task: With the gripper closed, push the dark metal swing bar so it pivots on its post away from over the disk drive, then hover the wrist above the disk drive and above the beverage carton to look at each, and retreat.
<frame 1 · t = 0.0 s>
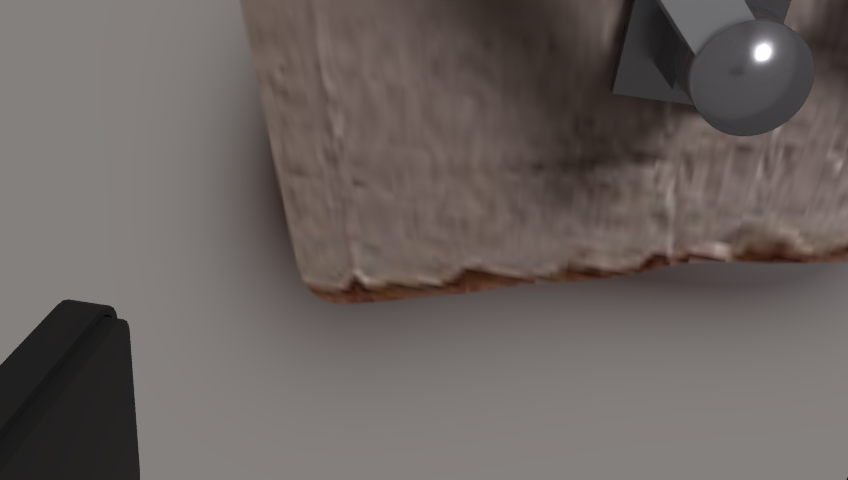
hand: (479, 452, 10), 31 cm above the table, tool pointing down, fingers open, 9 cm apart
pivot post: (699, 29, 37), on the table
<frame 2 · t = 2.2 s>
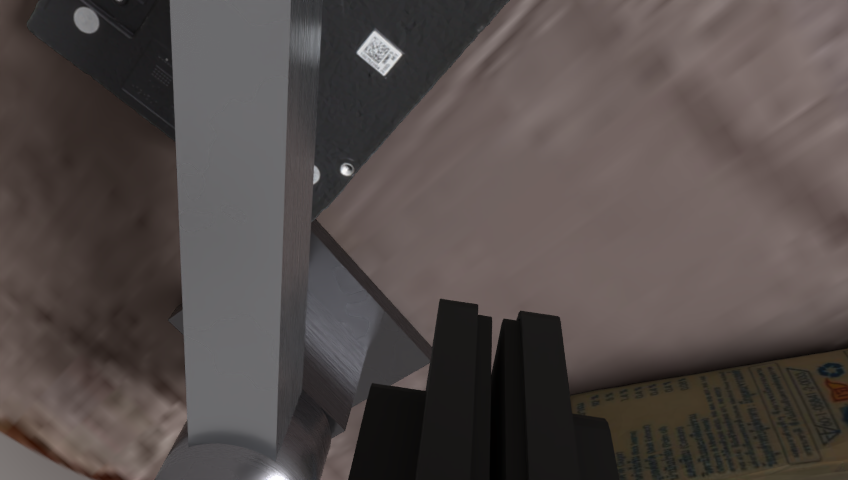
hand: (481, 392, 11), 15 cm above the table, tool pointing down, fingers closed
pivot post: (303, 328, 29), on the table
beverage carton: (748, 430, 30), on the table
swing bar: (248, 228, 19), point 7 cm above the table, hinge at 0.0°
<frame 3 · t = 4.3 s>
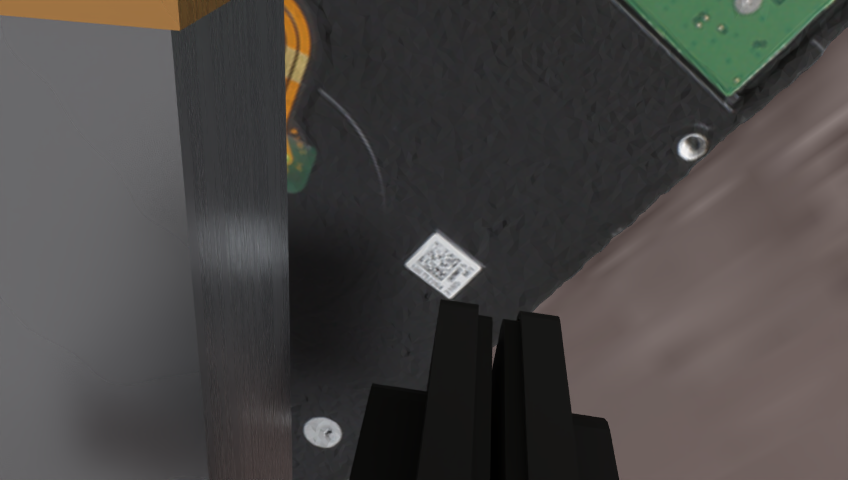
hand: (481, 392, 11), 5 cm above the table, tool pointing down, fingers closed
disk drive: (350, 56, 14), on the table
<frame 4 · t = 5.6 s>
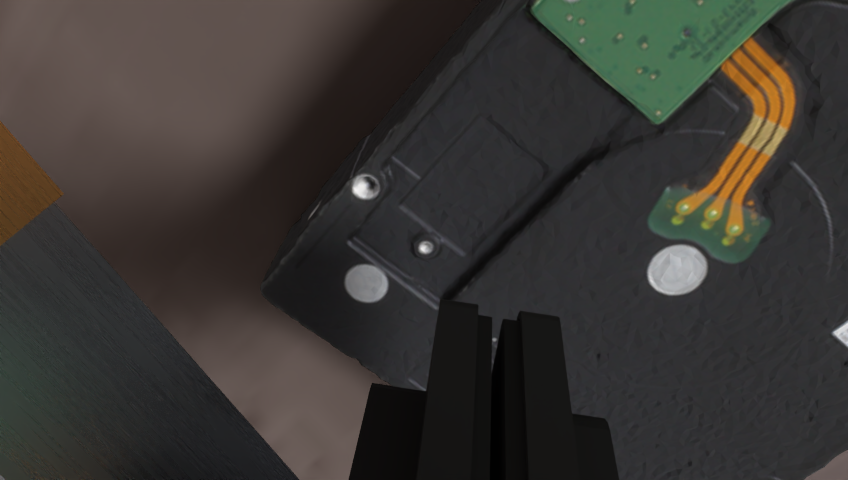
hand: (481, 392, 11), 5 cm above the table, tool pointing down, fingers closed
disk drive: (737, 116, 14), on the table
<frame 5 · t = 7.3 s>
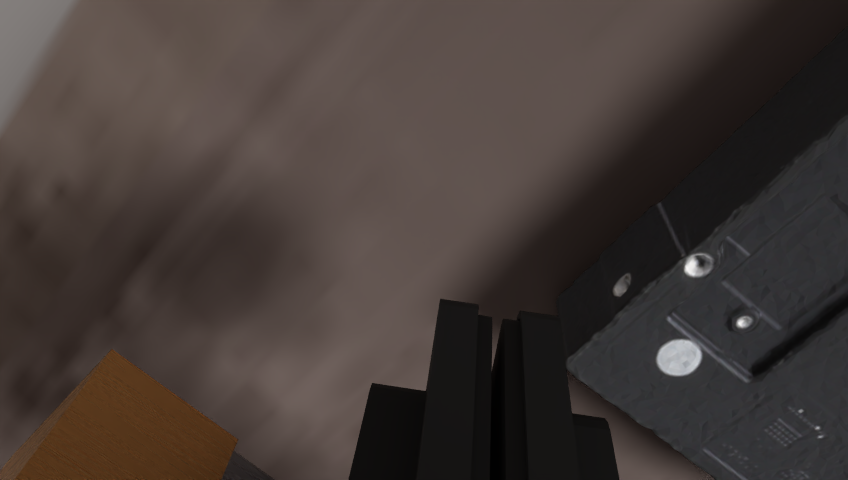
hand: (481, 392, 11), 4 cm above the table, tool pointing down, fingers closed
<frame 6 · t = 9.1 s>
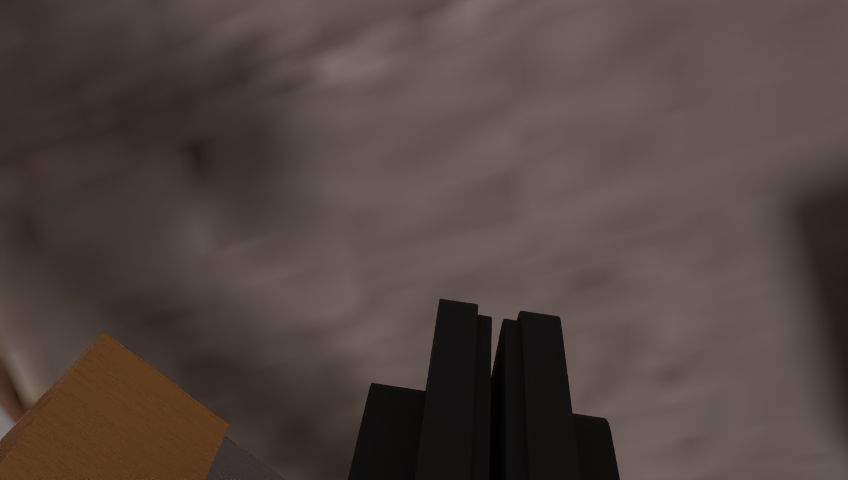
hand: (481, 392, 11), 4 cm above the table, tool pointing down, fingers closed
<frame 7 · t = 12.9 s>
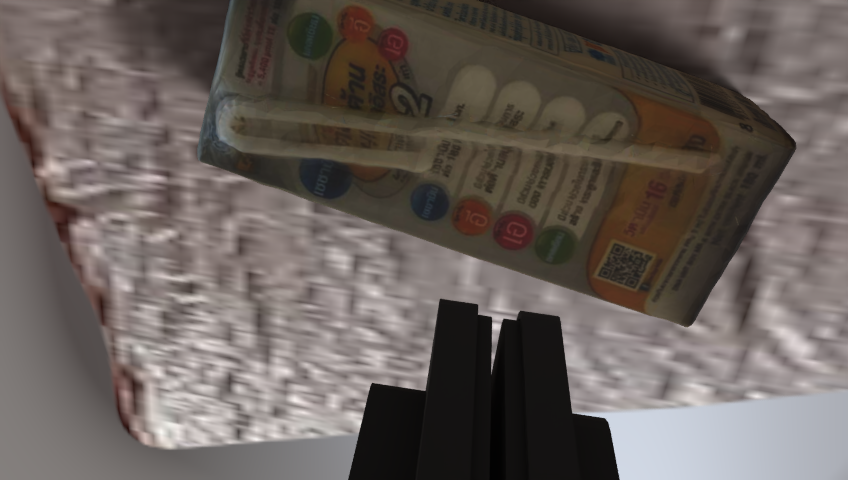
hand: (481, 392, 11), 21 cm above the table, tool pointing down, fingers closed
beverage carton: (487, 102, 31), on the table
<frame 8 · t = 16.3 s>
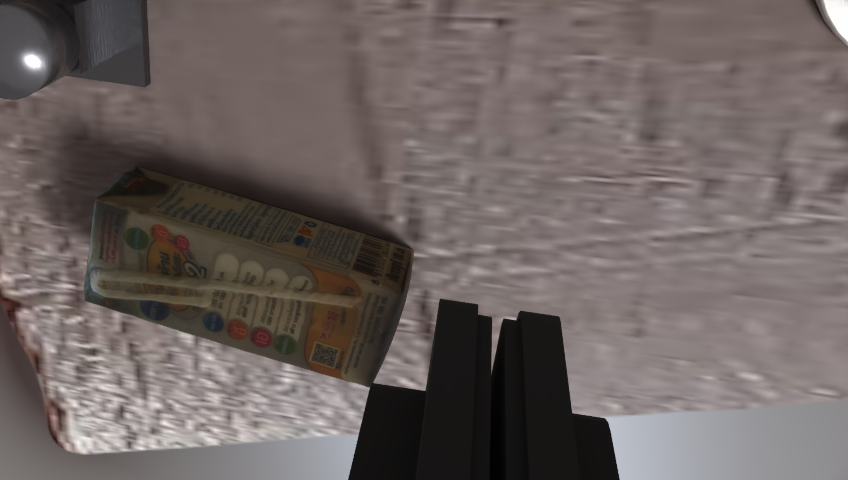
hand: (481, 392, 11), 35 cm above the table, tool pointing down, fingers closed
pivot post: (88, 16, 45), on the table
beverage carton: (266, 250, 52), on the table
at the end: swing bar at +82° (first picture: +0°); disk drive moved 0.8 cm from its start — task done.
